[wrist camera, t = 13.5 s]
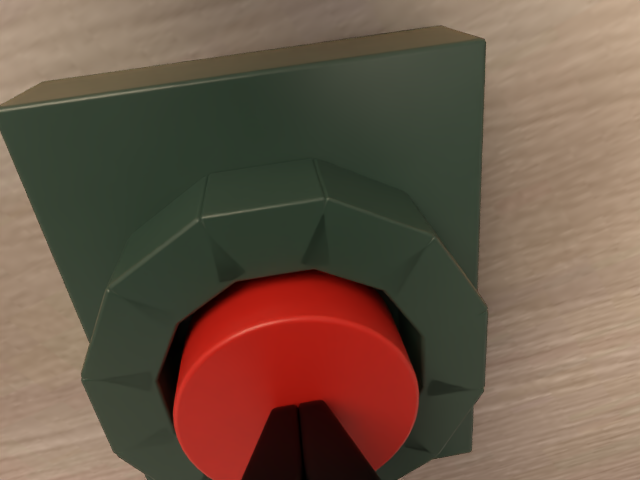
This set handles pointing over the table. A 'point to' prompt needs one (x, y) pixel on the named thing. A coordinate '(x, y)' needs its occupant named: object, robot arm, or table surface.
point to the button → (291, 368)
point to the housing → (264, 212)
